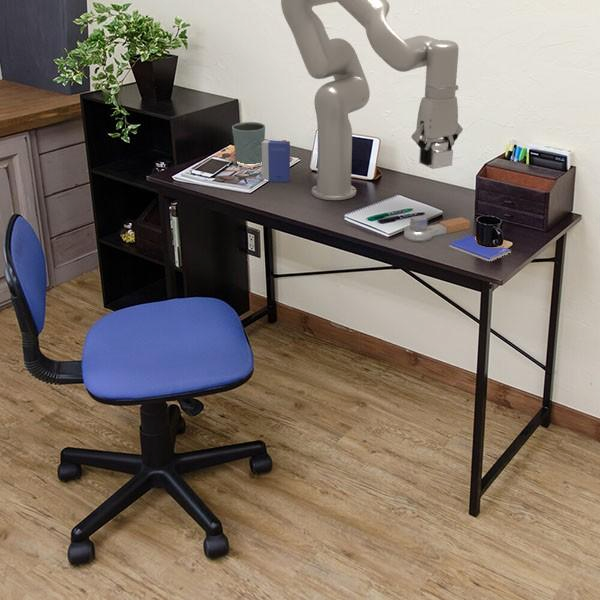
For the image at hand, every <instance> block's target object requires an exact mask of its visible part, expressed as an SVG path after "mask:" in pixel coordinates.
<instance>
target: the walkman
mask: <svg viewBox="0 0 600 600" xmlns="http://www.w3.org/2000/svg"><path fill="white" fill-rule="evenodd" d="M261 172H262V175H261V177H262V179H266V180H268V181H267V182H269V183H270V182H273V183H289V182H290V181H291V141H289V140H288V141H287V140H285V139H282V140H274V139H273V140H272V139H271V140H270V139H269V140H268V139H264V141H263V142H262V166H261ZM262 179H261V180H262Z"/></svg>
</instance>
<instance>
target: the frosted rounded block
mask: <svg viewBox="0 0 600 600" xmlns="http://www.w3.org/2000/svg"><path fill="white" fill-rule="evenodd" d="M426 141H427V139H426ZM426 141H425V144H426ZM429 150H430V151H431V153H430V164H429V165H425V164H423V163H421V159H420V156H421V148H420V147H419V157H418V164H421V165H423V166H425V167H428V168H430V169H432V170H435V169H441V168H445V167H446V168H447V167H451V166H452V167H453V158H454V150H453V149H452V150H451V149H448V141H447V140H445V139H443V138H435V139H432V142H431V144H430V147H429Z"/></svg>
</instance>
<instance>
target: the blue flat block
mask: <svg viewBox="0 0 600 600" xmlns="http://www.w3.org/2000/svg"><path fill="white" fill-rule="evenodd" d="M475 238H477V237H476V236H473V235H468V236H465V237H462V238H460V239H457V240H454V241H451V242H450V243H449V248H452V249H455V250H457V251H459V252H463V253H464V254H468V255H471V256H473V257H475V258H479V259H481V260H483V261H487V262H488V261H489V263H490V261H491V262H493V261H495V260H497V258H498V259H500V258H503V257H505V256H507V255H509V254H508V253H510V254H511V253H512V251H511V250H512V249H509V248H507V247H503V246H501V247H502V248H501V247H500V248H490V247H485V246H481V245H479V244H477V243H476V240H475ZM504 255H505V256H504ZM502 256H503V257H502Z"/></svg>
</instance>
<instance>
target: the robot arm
mask: <svg viewBox="0 0 600 600" xmlns="http://www.w3.org/2000/svg"><path fill="white" fill-rule="evenodd" d="M331 3H338V4H339V5H340V6H341V7H342V8H343V9H344V10H346V12H348V13H349V14H350V15H351V16H352V18H354V19H355V20H356V21H357V22H358V23H359V24H360V25H361V26H362V27H363V28H364V30H365V34H366V36H367V37H366V38H367V39H368V42H369V45H370V47H371V48H372V50H373V51H374V52H375V54H376V55H377V56H378V57H379V58H380V59H381V60H383V61H384V62H385V63H386V64H387V65H388V66H389V67H390V68H391V69H393V70H395V71H396V72H397V71H398V72H401V73H405V72H409V71H412V70H415V69H419V68H422V67H426V69H425V70H426V71H425V87H424V97H421V101H420V104H419V107H418V113H417V120H416V129H415V131H414V132H413V133H412V135H411V139H412V140H413V141H414V142H415V143H416V145H417V146H418V147H419V149H420V148H421V156H420V155H419V156H420V159H421V163H423V164H425V165H429V164H430V153H431V151H430V150H429V147H430V144H431V142H432V139H435V138H440V139H445V140H447V141H448V149H451V150H453V149H452V148H453V146H455V142H456V140H457V139H458V138H459V136H460V134H462V132H463V130H464V129H463V128H462V126H461V125H460V123H459V108H458V107H459V106H458V98H457V96H456V91H458V90H459V85H457V78H458V77H457V76H458V75H457V73H458V61H459V45H458V43H457V42H456V41H454V40H447V39H446V40H445V39H440V40H439V39H436V38H434V37H430V36H427V35H416V36H413V37H408V38H405V39H403V38H402V37H401V36H400V35H399V34H397V33H396V32H395V31H394V30H393V29H392V27H391V26H390V25H389V23H388V21H387V16H388V14H389V12H390V4H389V1H388V0H280V6H281V10H282V14H283V16H284V19H285V21H286V23H287V25H288V28H290V31H291V32H292V33H291V34H292V35H293V37H294V40H295V44H296V45H297V48H298V52H299V53H300V55H301V59H302V62H303V64H304V66H305V68H306V70H307V73H308V74H309V76H311V77H312V79H316V80H324V79H327V78H330V77H333V79H334V80H332V81H328V82H326V83H324V84H323V85H321V86H320V87H319V88H318V89H317V91H316V92H315V95H314V110H315V114H316V123H317V124H316V125H317V164H316V165H317V168H316V170H317V172H316V173H315V174H314V175H313V178H314V179H315V180H316V185H314V186H313V187H312V188H311V194H312V195H313V197H315V198H318V199H321V200H325V201H343V200H347V199H348V200H349V199H352V198H353V197H355V196H356V194H357V188H356V187H355V186H353V185H352V159H353V158H352V157H353V155H352V153H353V130H352V124H351V122H350V118H349V114H351V113H353V112H356V111H359V110H361V109H363V108H364V107H366V106H367V104H368V102H369V101H370V95H371V94H370V93H371V92H370V86H369V83H368V80H367V77H366V75H365V72H364V70H363V68H362V65H361V62H360V60H359V57H358V55H357V52H356V51H355V48H354V47H353V45H352V44H351V43H350V42H348V41H347V40H346V39H343V38H340V37H339V38H332V39H330V37H329V36H328V35H329V34H328V33H327V31H326V29H325V25H324V23H323V21H322V20H321V18H320V17H319V16H318V14H316V12H314V10H313V7H317V6H321V5H327V4H331ZM426 140H427V141H426ZM425 141H426V144H425ZM421 163H420V164H421ZM423 164H422V165H423ZM425 165H424V166H425Z"/></svg>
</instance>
